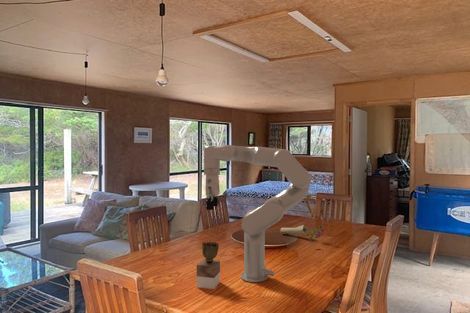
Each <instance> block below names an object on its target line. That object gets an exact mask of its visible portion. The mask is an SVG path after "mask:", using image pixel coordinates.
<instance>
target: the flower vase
mask: <svg viewBox="0 0 470 313" xmlns="http://www.w3.org/2000/svg"><path fill="white" fill-rule="evenodd" d="M311 230H312V231H311ZM311 230H308V227H306V226H305V224H302V225H299V226H297V227H281V228H280V233H281V232H287V233H290V234H296V233H297V234H302V235H305V236H306V237H309V243H311V242H312V240H313V238H314V239H319V238H321V237H322V234H323V233H324V232H325V230H324V228H323V224H321V223H320V225H319V224H318V225H317V228H315V230H314V227H312V228H311ZM313 234H315V235H313ZM314 236H315V237H314Z"/></svg>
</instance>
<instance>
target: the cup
mask: <svg viewBox="0 0 470 313" xmlns="http://www.w3.org/2000/svg"><path fill="white" fill-rule="evenodd" d="M201 244H202V246H201V247H202V248H201V249H202V256H203V257H204V259H205V261H206V262H213V260H215V258H217V255H218V252H219V247H220V244H219V243H217V242H213V241H212V242H211V241H207V242H202V243H201Z"/></svg>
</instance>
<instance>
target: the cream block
mask: <svg viewBox="0 0 470 313" xmlns="http://www.w3.org/2000/svg"><path fill="white" fill-rule="evenodd" d="M220 272H221V271H220ZM220 272H219V273H218V274H217V275H216V277H215V278H209V277H199V276H197V275H196V288H200V289H208V290H209V289H210V290H215V289H216V288H217V287H218V285H219V284H220V281H221V280H220V279H221V278H220V277H221V276H220Z"/></svg>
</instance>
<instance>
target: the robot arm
mask: <svg viewBox="0 0 470 313" xmlns="http://www.w3.org/2000/svg"><path fill="white" fill-rule="evenodd" d="M221 161H222V162H231V161H232V162H240V163H249V164H252V165H255V166H261V167H263V166H264V167H272V168H277V169H278V170H279V171H280V172H281V173H282V175H284V177H285V178H286V179H287V180H288V181H289V182H290V185H289V186H287V188H285V189H284V190H282V191H281V192H279V193H277V194H276V195H274V196H273V197H270V198H268V199H267V200H266V201H265V202H264V204H262V205H261V206H259V207H257V208H252V209H249V210H248V211H247V212H246V213H245V215H244V216H243V218H242V220H241V228H242V230H243V232H244V233H243V236H244V237H243V238H244V240H243V241H244V244H243V252H244V253H243V254H244V255H243V259H244V260H243V262H244V263H243V268H244V270H243V272H241V274H240V278H241V279H242V280H243V281H246V282H250V283H262V282H265V281H267V280H268V278H269V276H270V277H271V276H272V277H275V271H273V269H268V268H267V266H265V265H266V263H265V260H266V259H265V258H266V257H265V254H266V253H265V249H266V248H265V245H266V243H265V242H266V240H265V239H266V237H265V236H266V230H267V229H269V228H270V227H272V226H273V225H275V224H276V223H278V222H279V221H281V219H282V218H283V217H284V214H285V213H286V212H288V211H289V210H291V209H292V208H294V207H295V206H296V205H298V204H299V203H301V202H302V201H303V200H304V199H305V198H306V197H307V195H308V192H309V189H310V183H311V179H312V178H311V174H310V173H309V171H308V170H307V169H306V168H305V167H304V166H303V164H301V163H300V162H299V161H298V159H296V157H295V156H294V155H293V153H292V152H291V151H290V150H288V149H284V148H275V147H265V146H264V147H263V146H241V145H232V144H223V145H205V146H204V147H203V175H204V176H205V189H204V190H205V197H206V199H205V203H206V204H205V209H206V210H207V211H213V210H214V207H219V198H218V197H219V196H220V192H221V191H220V188H221V187H220V177H219V176H220V175H221V164H220V163H221Z"/></svg>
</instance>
